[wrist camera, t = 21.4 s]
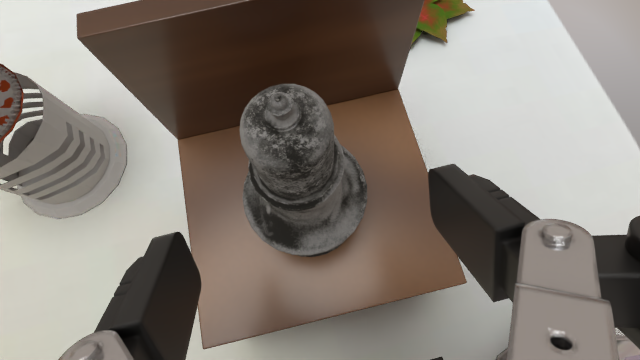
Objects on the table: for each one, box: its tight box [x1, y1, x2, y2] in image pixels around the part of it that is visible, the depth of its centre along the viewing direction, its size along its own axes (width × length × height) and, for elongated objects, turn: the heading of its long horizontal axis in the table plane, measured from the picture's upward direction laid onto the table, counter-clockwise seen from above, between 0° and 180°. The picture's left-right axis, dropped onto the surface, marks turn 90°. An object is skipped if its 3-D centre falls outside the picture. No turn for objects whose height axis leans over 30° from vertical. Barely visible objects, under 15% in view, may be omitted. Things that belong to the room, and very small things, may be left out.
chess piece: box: [240, 84, 367, 257], centre depth 14 cm, size 6×6×12 cm
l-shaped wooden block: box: [77, 0, 467, 349], centre depth 20 cm, size 13×14×18 cm
